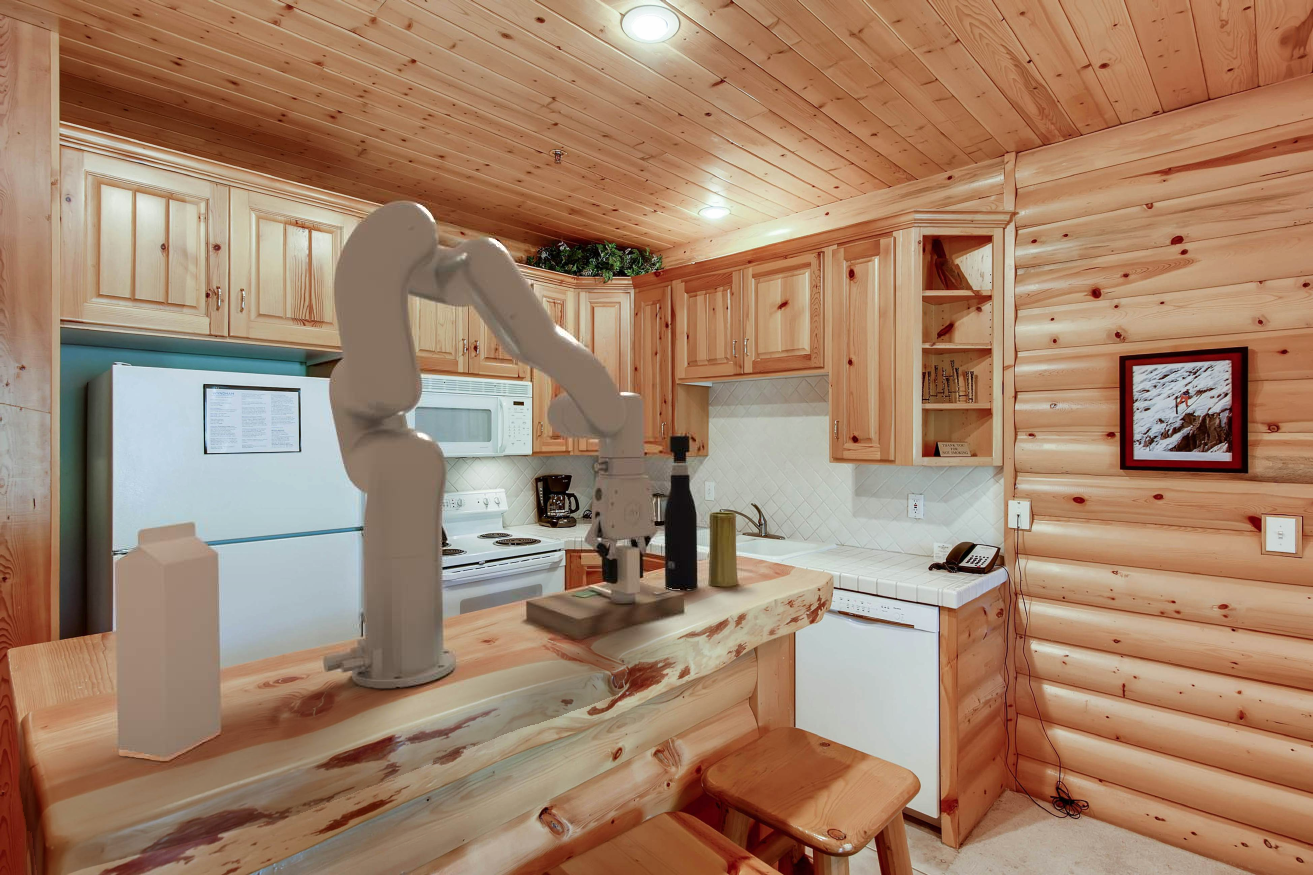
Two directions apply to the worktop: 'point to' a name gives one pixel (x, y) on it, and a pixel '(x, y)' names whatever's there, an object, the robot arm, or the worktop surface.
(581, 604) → the dial board
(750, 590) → the worktop surface
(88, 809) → the worktop surface
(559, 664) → the worktop surface
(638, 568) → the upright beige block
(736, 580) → the vase
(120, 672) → the milk
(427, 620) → the robot arm
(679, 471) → the black bottle
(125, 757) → the worktop surface
